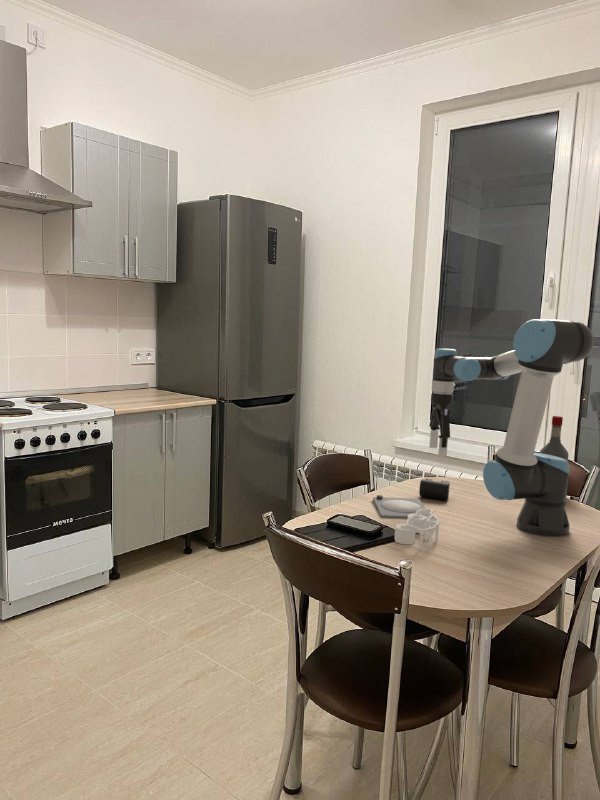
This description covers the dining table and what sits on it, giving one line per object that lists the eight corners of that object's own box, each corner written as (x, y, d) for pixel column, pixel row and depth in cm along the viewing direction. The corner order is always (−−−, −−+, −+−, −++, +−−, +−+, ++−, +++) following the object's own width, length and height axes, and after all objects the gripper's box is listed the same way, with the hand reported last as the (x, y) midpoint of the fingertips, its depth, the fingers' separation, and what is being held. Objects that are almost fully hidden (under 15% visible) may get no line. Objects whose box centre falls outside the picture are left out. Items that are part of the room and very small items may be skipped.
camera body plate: (431, 521, 197) (432, 514, 197) (381, 519, 197) (381, 512, 196) (418, 502, 217) (418, 495, 217) (372, 501, 217) (373, 494, 216)
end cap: (418, 499, 221) (419, 481, 220) (422, 494, 228) (423, 476, 227) (447, 503, 218) (448, 484, 217) (449, 498, 224) (451, 480, 223)
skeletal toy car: (411, 529, 190) (413, 505, 189) (447, 536, 185) (449, 512, 184) (389, 549, 172) (390, 523, 171) (428, 557, 167) (430, 531, 166)
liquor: (533, 495, 233) (541, 416, 229) (540, 490, 240) (548, 414, 236) (558, 500, 228) (567, 419, 224) (565, 495, 235) (573, 417, 231)
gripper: (462, 398, 206) (457, 460, 209) (444, 388, 230) (439, 444, 233) (440, 397, 206) (435, 459, 209) (424, 387, 230) (419, 443, 233)
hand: (437, 451), depth 221 cm, fingers open, 13 cm apart
